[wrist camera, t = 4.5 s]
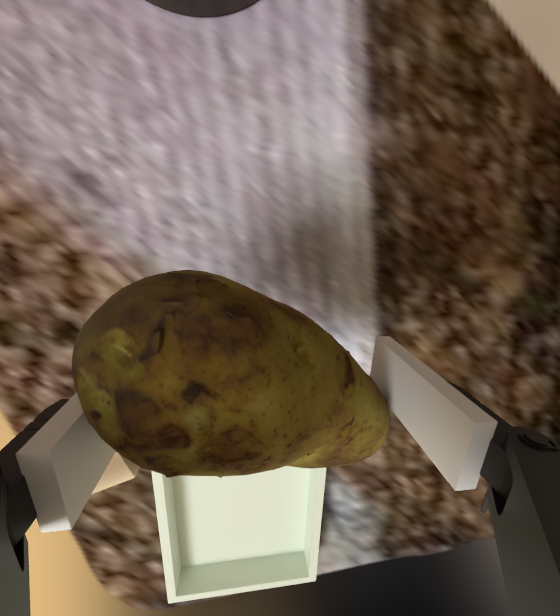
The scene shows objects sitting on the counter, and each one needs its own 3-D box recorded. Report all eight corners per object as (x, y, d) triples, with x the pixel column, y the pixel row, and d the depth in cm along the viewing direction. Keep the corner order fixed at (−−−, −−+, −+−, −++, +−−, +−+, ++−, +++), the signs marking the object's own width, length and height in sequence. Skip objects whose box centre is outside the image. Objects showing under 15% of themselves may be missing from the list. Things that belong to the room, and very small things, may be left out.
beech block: (86, 421, 23) (56, 458, 20) (130, 405, 24) (109, 439, 20) (109, 455, 25) (85, 496, 21) (151, 439, 25) (134, 477, 21)
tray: (157, 400, 24) (145, 424, 21) (321, 392, 26) (331, 412, 23) (175, 567, 29) (168, 603, 27) (309, 549, 31) (315, 580, 29)
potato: (264, 460, 17) (280, 651, 9) (113, 302, 13) (-72, 417, 5) (376, 391, 16) (487, 534, 9) (255, 202, 12) (272, 170, 5)
